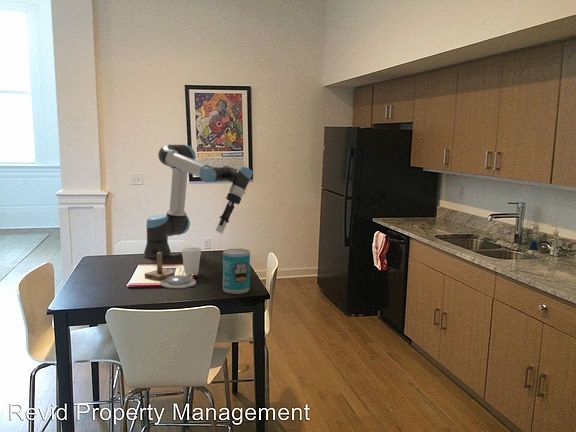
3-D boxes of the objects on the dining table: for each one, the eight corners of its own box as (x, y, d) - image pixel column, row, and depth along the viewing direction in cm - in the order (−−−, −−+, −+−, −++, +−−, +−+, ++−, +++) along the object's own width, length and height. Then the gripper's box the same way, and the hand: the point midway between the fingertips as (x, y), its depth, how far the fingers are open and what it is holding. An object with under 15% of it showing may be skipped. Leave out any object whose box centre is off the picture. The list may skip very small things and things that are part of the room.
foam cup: (198, 277, 236) (198, 251, 234) (179, 276, 236) (179, 250, 234) (202, 272, 245) (202, 247, 243) (184, 271, 245) (184, 246, 243)
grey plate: (154, 283, 222) (153, 278, 222) (181, 277, 235) (181, 272, 234) (175, 291, 212) (175, 285, 212) (203, 283, 225) (203, 278, 224)
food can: (243, 295, 209) (243, 255, 206) (218, 292, 213) (218, 252, 210) (253, 288, 220) (254, 249, 218) (229, 285, 224) (230, 247, 221)
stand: (144, 277, 232) (144, 253, 230) (159, 273, 241) (159, 249, 239) (160, 280, 227) (159, 256, 226) (174, 276, 236) (174, 252, 234)
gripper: (241, 194, 238) (224, 233, 235) (242, 200, 262) (227, 235, 260) (227, 188, 237) (210, 227, 235) (229, 195, 262) (214, 230, 260)
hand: (219, 232), depth 248 cm, fingers open, 13 cm apart
